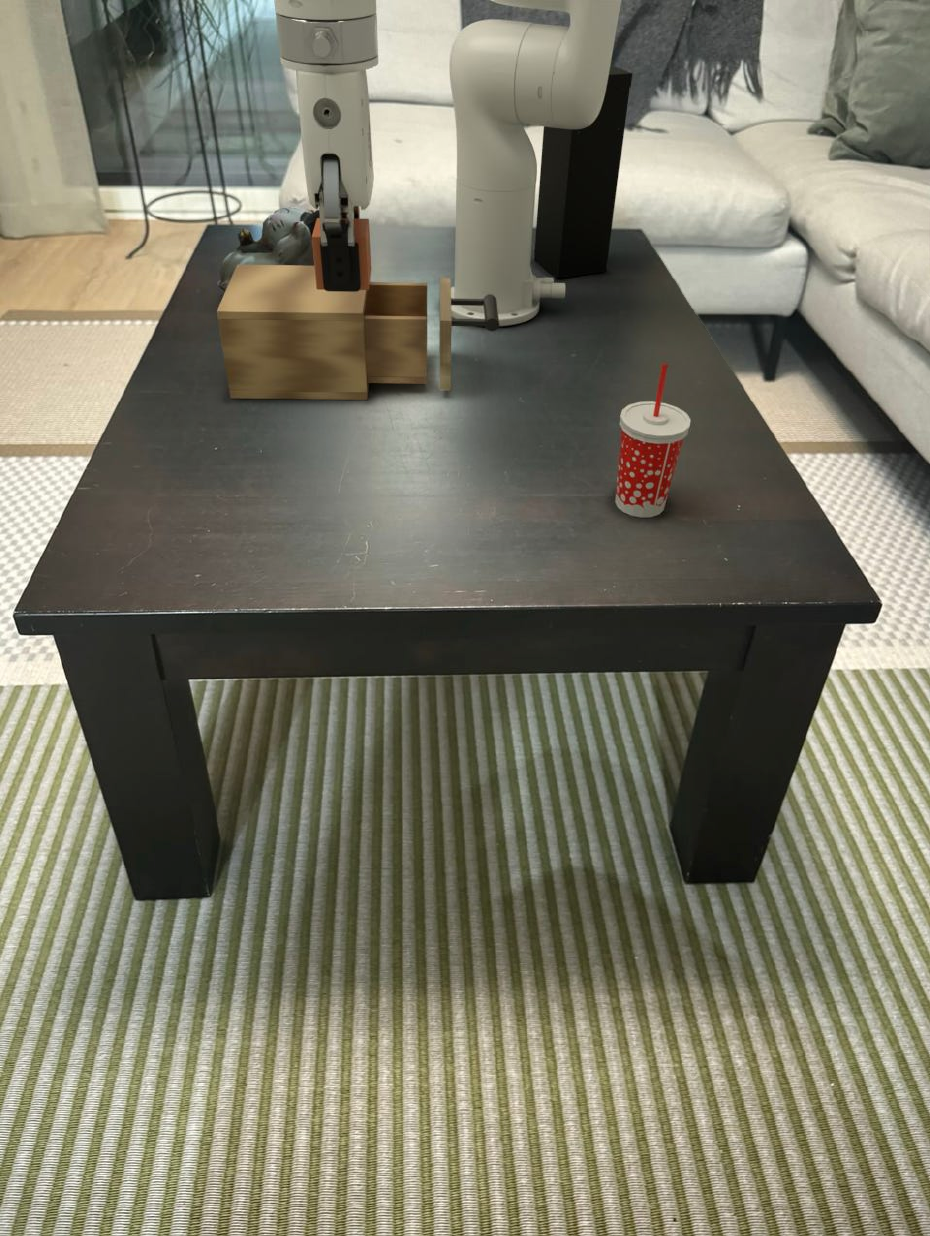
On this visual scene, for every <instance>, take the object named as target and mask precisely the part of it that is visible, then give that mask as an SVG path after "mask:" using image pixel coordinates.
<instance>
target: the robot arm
mask: <svg viewBox="0 0 930 1236" xmlns="http://www.w3.org/2000/svg"><path fill="white" fill-rule="evenodd" d="M490 1H491V2H492V3H493V2H494V3H496V4H499V5H503V6H509V7H514V8H515V7H516V8H523V9H533V10H542V11H552V12H553V11H554V12H565V13H567V14H569V21H570V22H569V26H564V25H554V24H543V23H536V22H531V21H522V20H521V21H520V20H509V19H495V18H491V19H483V20H478V21H475V22H472V23H470V24H468V25H466V26H465V27H464V28H462V29H461V30H460V31H459V33H458V34H457V36H456V37H455V39H454V41H453V43H452V46H451V50H450V54H449V82H450V89H451V95H452V102H453V103H452V104H453V110H454V111H453V112H454V118H455V119H454V120H455V132H456V133H455V134H456V178H455V179H456V182H455V183H456V184H455V186H456V187H455V190H456V191H455V240H454V241H455V242H454V244H455V245H454V251H455V252H454V285H453V286H451V298H456V299H484V297H485V296H486V295H489V294H491V295H494V296H495V297H496V301H497V309H498V317H499V327H508V326H514V325H518V324H522V323H525V322H527V321H529V320H532V319H533V318H534V317H535V316H537V314H538V313H539V311H540V300H541V298H542V299H543V298H547V299H551V300H552V299H556V300H557V299H558V300H559V299H563V300H564V299H565V297H566V282H554V281H555V277H537V276H536V275H534V274H533V271H532V267H531V258H532V246H533V245H532V244H533V243H532V242H533V232H534V231H533V229H534V228H533V227H534V217H535V202H536V187H537V176H538V164H537V157H536V152H535V150H534V149H535V148H534V147H533V143H532V142H531V140H530V137H529V135H528V133H527V131H526V129H525V127H524V125H532V126H537V127H538V126H540V127H544V126H546V127H553V128H562V129H583V128H585V127H587V126H589V125H591V124H592V123H593V122H594V120H595V119H596V118H597V116H598V114H599V112H600V109H601V107H602V103H603V100H604V96H605V92H606V87H607V81H608V76H609V71H610V65H612V57H613V52H614V47H615V46H614V45H615V40H616V35H617V29H618V23H619V17H620V11H621V5H622V0H490ZM274 11H275V19H276V28H277V38H278V40H277V41H278V50H279V61H280V64H281V65H282V67H284V68H286V69H289V70H292V71H295V74H296V87H297V89H296V90H297V102H298V112H299V124H300V137H301V144H302V145H301V146H302V157H303V167H304V174H305V183H306V191H307V197H308V202H309V205H311V207H313V208H314V210H319V213H320V230H321V243H320V252H321V264H322V275H323V287H324V289H325V290H326V291H338V292H357V291H359V290H360V287H361V280H360V263H359V246H358V243H355V231H354V218H355V219H361V216H360V213H361V212H360V210H361V211H365V210H367V209H368V207H369V206H370V205H371V201H372V194H373V188H374V179H375V178H374V177H375V174H374V162H373V146H372V129H371V126H372V125H371V112H370V111H371V109H370V108H371V107H370V95H369V84H368V76H367V70H369V69H373V68H374V67H376V66H378V65H379V47H378V46H379V45H378V44H379V43H378V42H379V41H378V19H377V16H378V15H377V0H274ZM342 218H347V223H346V221H345V219H342ZM451 316H452V319H485V317H484V306H464V305H451Z"/></svg>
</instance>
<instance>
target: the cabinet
mask: <svg viewBox="0 0 930 1236" xmlns="http://www.w3.org/2000/svg"><path fill="white" fill-rule="evenodd" d="M367 292H368V290H359V291H357V292H338V291H326V290H317V289H316V278H315V267H314V266H297V265H237V267H236V269H235V271H234V273H233V276H232V278H231V280H230V282H229V285H228V287H227V289H226V291H224V294H223V296H222V298H221V299H220V302H219V305H218V307H217V310H216V315H217V322H218V329H219V335H220V341H221V348H222V354H223V361H224V366H225V372H226V373H225V374H226V379H227V384H228V391H229V398H230V399H234V400H235V399H236V400H237V399H240V400H241V399H242V400H245V399H247V400H248V399H249V400H251V399H253V400H331V401H332V400H333V401H338V400H339V401H343V400H344V401H367V400H368V398H369V397H368V395H369V390H370V389H369V388H370V383H367V371H366V351H365V331H364V312H365V305H366V299H367Z"/></svg>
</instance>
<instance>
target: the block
mask: <svg viewBox="0 0 930 1236" xmlns="http://www.w3.org/2000/svg"><path fill="white" fill-rule="evenodd" d="M342 219H345V221H346V223H347V218H342ZM354 231H355V243H358V246H359V263H360V280H361V287H360V290H369V285H370V282H371V277H372V255H371V254H372V252H371V232H370V218H360V219H355V218H354ZM320 243H321V230H320V218H317V220H316V224H315V227H314V231H313V234H312V245H313V256H314V267H315V278H316V289H317V290H325V289H324V287H323V275H322V264H321V252H320Z"/></svg>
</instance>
